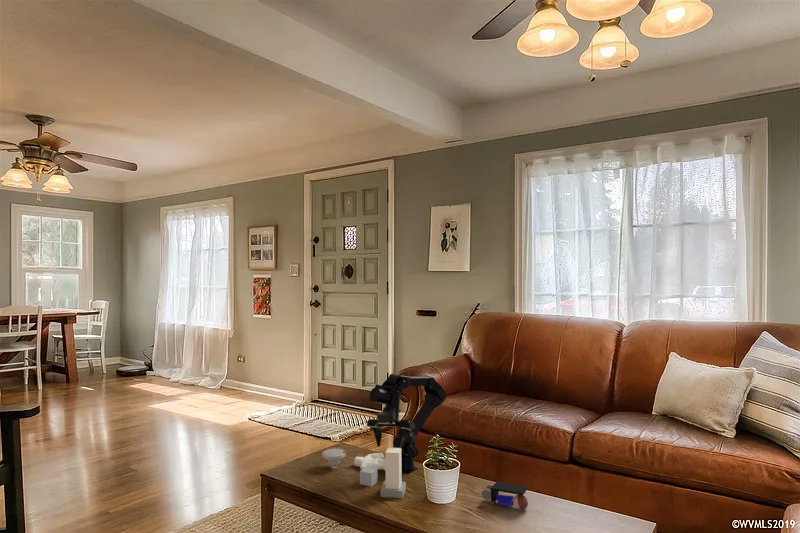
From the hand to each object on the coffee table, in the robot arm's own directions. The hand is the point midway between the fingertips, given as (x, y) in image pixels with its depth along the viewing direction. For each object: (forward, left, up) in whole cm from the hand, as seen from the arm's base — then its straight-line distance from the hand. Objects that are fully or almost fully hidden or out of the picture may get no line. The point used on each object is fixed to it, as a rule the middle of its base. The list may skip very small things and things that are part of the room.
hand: (389, 447), depth 193 cm
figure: (-7, -12, -14) cm, 19 cm away
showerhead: (+1, -27, -13) cm, 30 cm away
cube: (+5, -6, -13) cm, 15 cm away
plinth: (+7, +7, -14) cm, 17 cm away
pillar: (+7, +7, -11) cm, 15 cm away
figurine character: (-6, +45, -13) cm, 47 cm away
